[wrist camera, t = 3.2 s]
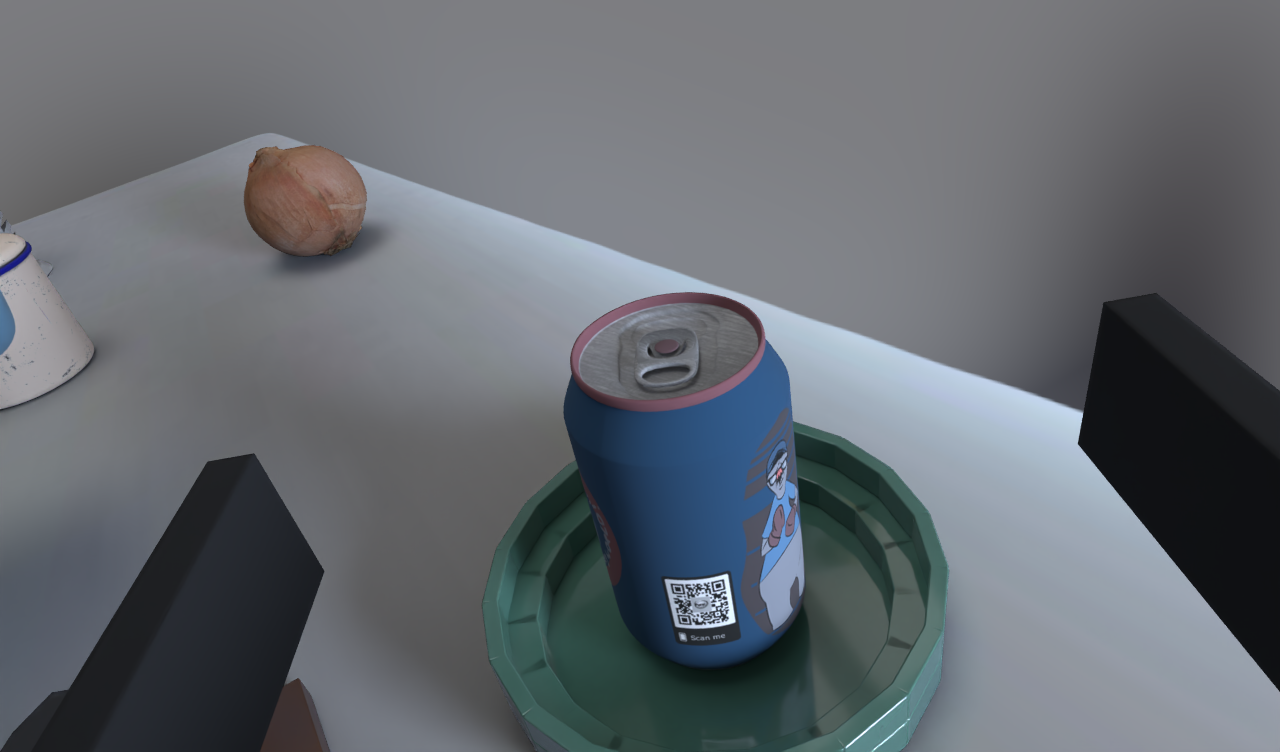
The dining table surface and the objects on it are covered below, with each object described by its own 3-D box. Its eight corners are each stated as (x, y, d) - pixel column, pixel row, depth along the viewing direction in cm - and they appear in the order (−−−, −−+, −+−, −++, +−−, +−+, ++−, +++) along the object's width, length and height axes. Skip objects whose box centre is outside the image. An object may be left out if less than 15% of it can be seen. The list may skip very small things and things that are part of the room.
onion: (301, 285, 69) (213, 191, 65) (384, 218, 72) (303, 125, 68) (308, 283, 61) (207, 175, 57) (402, 207, 63) (311, 100, 60)
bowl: (443, 595, 33) (419, 545, 31) (743, 419, 39) (737, 370, 37) (661, 965, 21) (642, 918, 19) (1046, 629, 27) (1057, 571, 25)
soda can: (629, 543, 33) (565, 296, 26) (796, 530, 32) (775, 269, 25) (616, 693, 27) (531, 428, 21) (819, 682, 26) (799, 400, 20)
